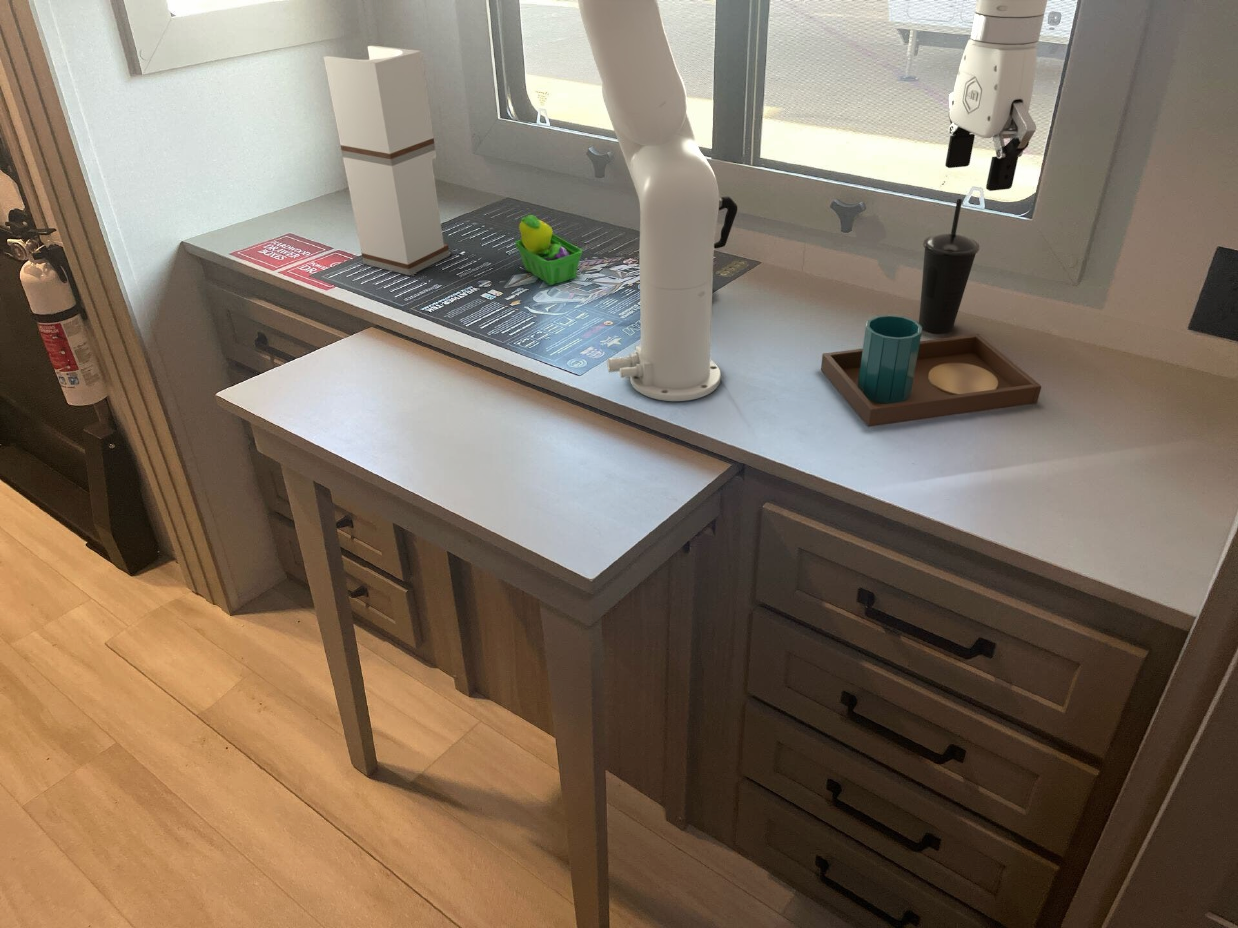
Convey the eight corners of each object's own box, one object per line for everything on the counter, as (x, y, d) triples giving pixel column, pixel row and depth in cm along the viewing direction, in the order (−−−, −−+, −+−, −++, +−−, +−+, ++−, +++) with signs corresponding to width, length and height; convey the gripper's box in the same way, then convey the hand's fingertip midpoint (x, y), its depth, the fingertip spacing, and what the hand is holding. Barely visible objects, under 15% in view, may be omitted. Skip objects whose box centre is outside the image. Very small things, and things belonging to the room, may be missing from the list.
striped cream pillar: (449, 255, 169) (421, 51, 149) (409, 275, 162) (374, 63, 142) (404, 244, 174) (371, 45, 154) (363, 263, 167) (323, 57, 147)
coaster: (948, 400, 120) (949, 398, 120) (916, 369, 128) (916, 367, 128) (1011, 392, 122) (1011, 390, 122) (975, 361, 129) (976, 359, 129)
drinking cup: (964, 343, 135) (992, 210, 124) (910, 339, 136) (933, 207, 125) (959, 320, 141) (985, 192, 130) (907, 317, 143) (929, 190, 131)
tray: (867, 430, 116) (870, 409, 114) (820, 373, 129) (822, 353, 127) (1036, 406, 120) (1042, 386, 118) (974, 353, 132) (978, 333, 131)
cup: (870, 407, 120) (880, 341, 114) (849, 381, 125) (857, 318, 120) (919, 400, 121) (931, 335, 115) (896, 375, 126) (906, 312, 121)
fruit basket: (586, 278, 158) (583, 215, 152) (542, 291, 154) (536, 226, 148) (552, 259, 166) (548, 197, 160) (509, 271, 162) (503, 208, 156)
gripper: (938, 20, 113) (916, 161, 123) (1019, 45, 99) (987, 202, 109) (994, 17, 114) (967, 156, 124) (1081, 41, 100) (1044, 196, 110)
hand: (976, 177), depth 116 cm, fingers open, 9 cm apart
